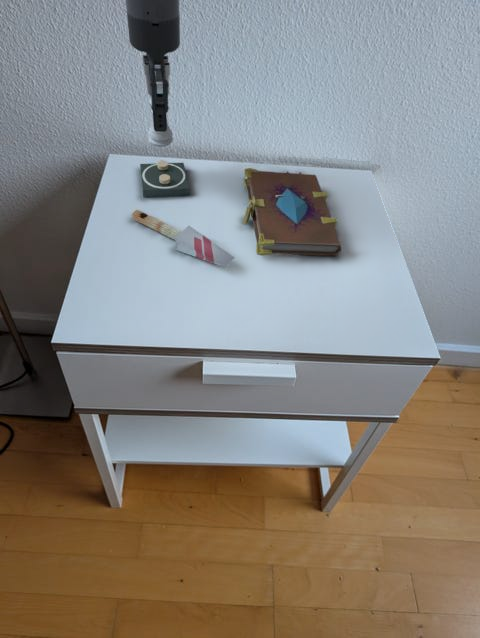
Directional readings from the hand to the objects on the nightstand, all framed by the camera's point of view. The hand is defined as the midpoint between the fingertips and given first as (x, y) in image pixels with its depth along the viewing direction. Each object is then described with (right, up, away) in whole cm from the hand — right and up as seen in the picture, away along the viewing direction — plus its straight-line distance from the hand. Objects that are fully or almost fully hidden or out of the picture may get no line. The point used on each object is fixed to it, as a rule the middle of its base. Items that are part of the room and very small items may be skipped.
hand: (159, 124), depth 75 cm
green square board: (0, -8, +7) cm, 11 cm away
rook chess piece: (0, -2, +3) cm, 3 cm away
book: (+22, -14, +5) cm, 27 cm away
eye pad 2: (0, -9, +4) cm, 10 cm away
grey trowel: (+4, -21, -2) cm, 22 cm away
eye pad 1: (-1, -5, +7) cm, 9 cm away
